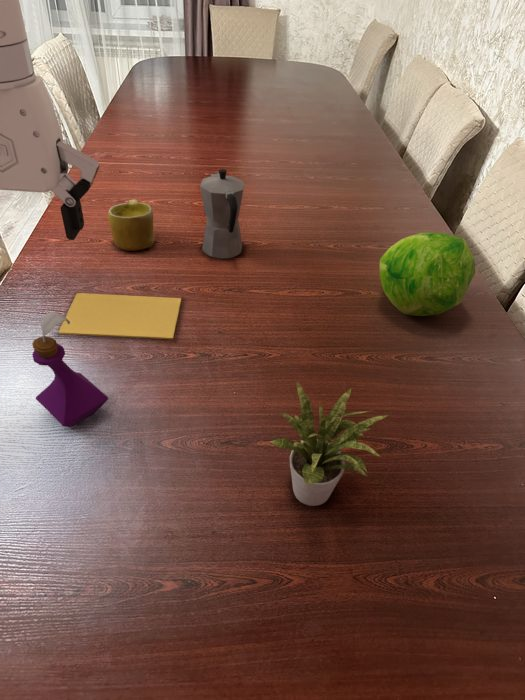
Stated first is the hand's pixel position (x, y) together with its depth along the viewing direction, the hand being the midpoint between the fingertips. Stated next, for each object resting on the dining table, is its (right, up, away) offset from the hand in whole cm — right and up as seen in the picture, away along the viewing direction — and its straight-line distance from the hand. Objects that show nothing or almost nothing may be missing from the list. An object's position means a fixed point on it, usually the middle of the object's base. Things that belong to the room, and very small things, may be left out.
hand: (32, 230), depth 59 cm
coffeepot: (+17, +8, +57) cm, 60 cm away
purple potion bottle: (-2, -23, +19) cm, 30 cm away
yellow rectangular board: (0, -7, +37) cm, 38 cm away
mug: (-3, +11, +58) cm, 60 cm away
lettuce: (+56, -5, +45) cm, 72 cm away
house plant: (+33, -33, +11) cm, 48 cm away
